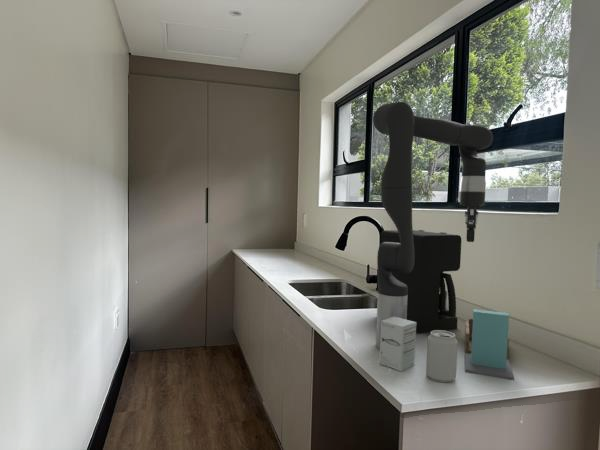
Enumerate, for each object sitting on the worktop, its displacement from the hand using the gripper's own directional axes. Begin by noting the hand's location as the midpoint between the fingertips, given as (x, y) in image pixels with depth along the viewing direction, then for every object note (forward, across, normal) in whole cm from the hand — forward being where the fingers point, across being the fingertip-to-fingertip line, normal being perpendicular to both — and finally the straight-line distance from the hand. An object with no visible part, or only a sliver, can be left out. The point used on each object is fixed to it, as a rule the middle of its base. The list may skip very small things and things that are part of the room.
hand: (470, 240), depth 137 cm
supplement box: (+34, -28, +18) cm, 48 cm away
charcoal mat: (+34, -18, -6) cm, 39 cm away
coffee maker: (+34, +18, +16) cm, 42 cm away
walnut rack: (+34, -1, -6) cm, 35 cm away
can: (+34, -32, +6) cm, 47 cm away
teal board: (+34, -18, -6) cm, 39 cm away
